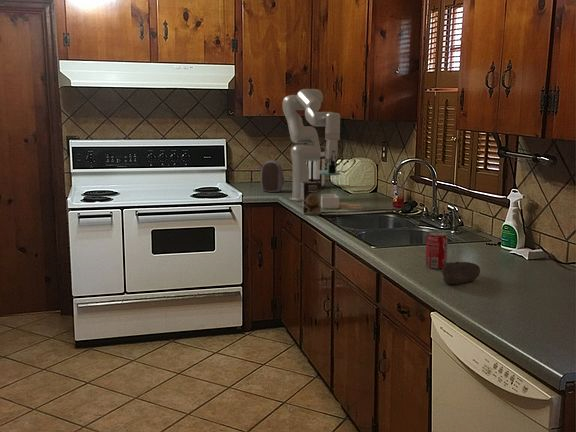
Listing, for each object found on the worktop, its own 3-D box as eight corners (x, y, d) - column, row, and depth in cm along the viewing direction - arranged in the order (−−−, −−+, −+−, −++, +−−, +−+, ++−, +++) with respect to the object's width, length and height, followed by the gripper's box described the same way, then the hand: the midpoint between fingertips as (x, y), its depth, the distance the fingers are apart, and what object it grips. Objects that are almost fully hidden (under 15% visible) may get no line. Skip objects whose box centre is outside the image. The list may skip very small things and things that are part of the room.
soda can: (442, 264, 214) (444, 231, 212) (448, 270, 207) (450, 235, 205) (422, 264, 214) (424, 231, 212) (428, 270, 207) (429, 235, 205)
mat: (336, 204, 337) (336, 203, 337) (357, 203, 338) (357, 203, 338) (342, 209, 319) (342, 209, 319) (364, 209, 321) (364, 208, 320)
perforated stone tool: (474, 278, 198) (475, 257, 197) (485, 282, 194) (486, 261, 192) (435, 283, 193) (437, 261, 191) (446, 287, 188) (447, 266, 187)
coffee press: (298, 187, 401) (298, 141, 395) (319, 185, 408) (319, 140, 402) (311, 190, 386) (311, 143, 380) (332, 189, 393) (333, 142, 387)
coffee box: (303, 215, 304) (304, 183, 301) (300, 212, 310) (300, 181, 307) (321, 214, 307) (321, 182, 304) (317, 212, 313) (317, 180, 310)
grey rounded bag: (258, 192, 379) (258, 160, 375) (263, 190, 387) (263, 158, 383) (281, 193, 374) (281, 160, 370) (286, 191, 382) (286, 159, 378)
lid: (318, 171, 331) (318, 160, 329) (336, 171, 332) (336, 160, 330) (322, 175, 316) (323, 163, 314) (341, 175, 317) (341, 163, 315)
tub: (318, 205, 334) (319, 194, 332) (335, 204, 334) (335, 194, 333) (322, 208, 322) (322, 197, 321) (339, 208, 323) (339, 197, 322)
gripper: (322, 135, 321) (322, 170, 325) (327, 138, 305) (326, 174, 309) (336, 135, 322) (335, 170, 326) (342, 138, 306) (341, 174, 310)
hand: (331, 172), depth 317 cm, fingers closed on lid, 3 cm apart
